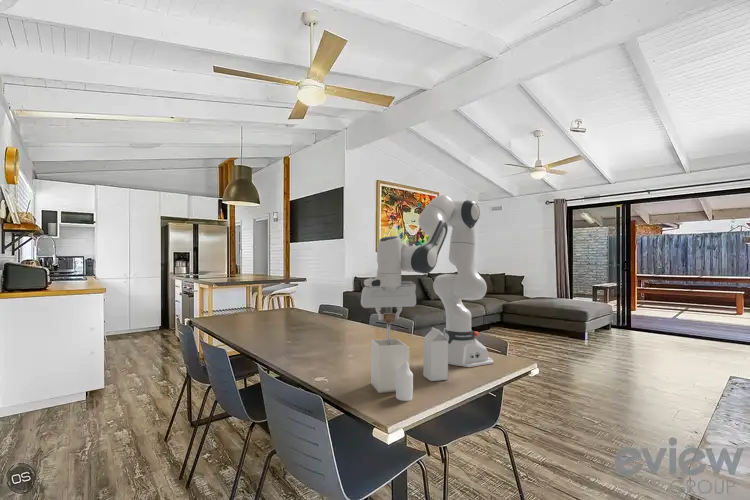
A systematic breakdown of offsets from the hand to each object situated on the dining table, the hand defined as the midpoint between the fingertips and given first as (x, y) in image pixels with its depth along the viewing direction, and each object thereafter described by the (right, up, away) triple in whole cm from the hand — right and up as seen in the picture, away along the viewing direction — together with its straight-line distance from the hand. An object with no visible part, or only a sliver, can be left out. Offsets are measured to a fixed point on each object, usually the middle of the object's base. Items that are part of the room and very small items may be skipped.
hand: (388, 319), depth 135 cm
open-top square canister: (+1, -24, 0) cm, 24 cm away
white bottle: (+5, -24, -10) cm, 27 cm away
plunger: (0, -13, 0) cm, 13 cm away
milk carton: (+18, -25, +10) cm, 33 cm away
